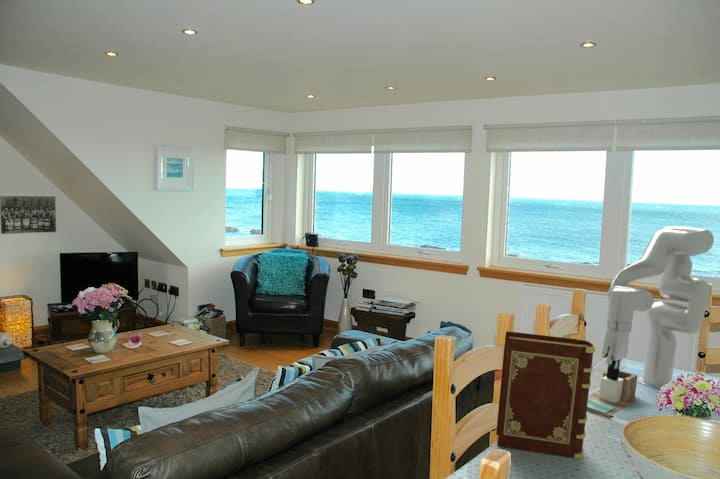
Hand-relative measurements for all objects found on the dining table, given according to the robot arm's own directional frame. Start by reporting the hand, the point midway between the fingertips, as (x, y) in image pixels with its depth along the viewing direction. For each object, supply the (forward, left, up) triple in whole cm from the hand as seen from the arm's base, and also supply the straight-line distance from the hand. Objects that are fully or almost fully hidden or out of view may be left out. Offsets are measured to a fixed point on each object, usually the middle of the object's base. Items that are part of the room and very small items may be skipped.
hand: (612, 378), depth 185 cm
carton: (0, 0, -7) cm, 7 cm away
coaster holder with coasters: (+2, 0, -8) cm, 8 cm away
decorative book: (+52, +2, -8) cm, 52 cm away
